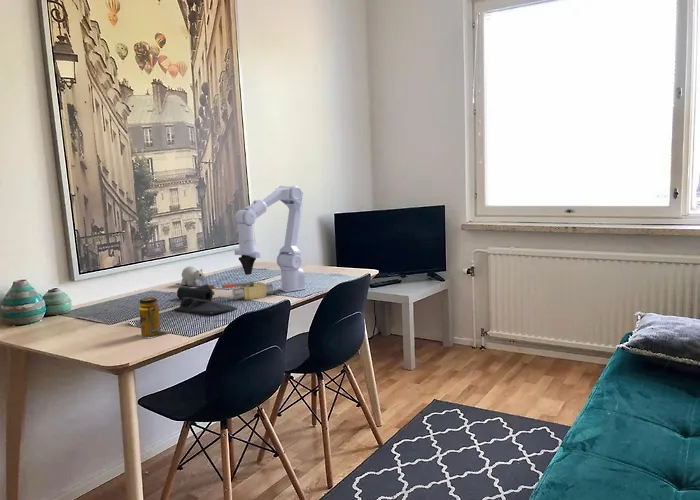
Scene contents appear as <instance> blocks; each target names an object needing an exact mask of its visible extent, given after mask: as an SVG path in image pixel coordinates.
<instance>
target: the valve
mask: <svg viewBox="0 0 700 500" xmlns="http://www.w3.org/2000/svg"><path fill="white" fill-rule="evenodd" d="M231 293H232V294H231V295H232V298H233V300H235V301H237V300H242V299H243V300H253V299H261V298H265V297H266V298H267V296H270V295H273V294H274V287H273V284H272V283H267V284H266V283H264V282H261V281H258V282H257V281H256V285H246V286H239V287H236V288H233V289H232V291H231Z"/></svg>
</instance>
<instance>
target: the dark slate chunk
mask: <svg viewBox="0 0 700 500" xmlns="http://www.w3.org/2000/svg"><path fill="white" fill-rule="evenodd" d="M180 300H181V301H180V304H179V306H178V307H176V308H175V307H174V311H176V312H183V313H187V312H189V313H188V314H196V313H198V315H204V316H205V315H206V316H213V315H217V314H223V313H228V312H232V311H236V310H238V308H237V307H236V306H232V305H229V304H228V305H227V304H222V303H220V302H216V301H212V300H211V301H208V300H201V299H196V298H189V297H182V299H180Z"/></svg>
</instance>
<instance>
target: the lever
mask: <svg viewBox="0 0 700 500" xmlns="http://www.w3.org/2000/svg"><path fill="white" fill-rule="evenodd" d="M256 283H257V281H255V280H251V281H248V282H237V283H235V282H234V283H232V282H231V283H225V284H223V283H222V285H221V286H222V289H231V288H238V287H240V286H246V285H256Z"/></svg>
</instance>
